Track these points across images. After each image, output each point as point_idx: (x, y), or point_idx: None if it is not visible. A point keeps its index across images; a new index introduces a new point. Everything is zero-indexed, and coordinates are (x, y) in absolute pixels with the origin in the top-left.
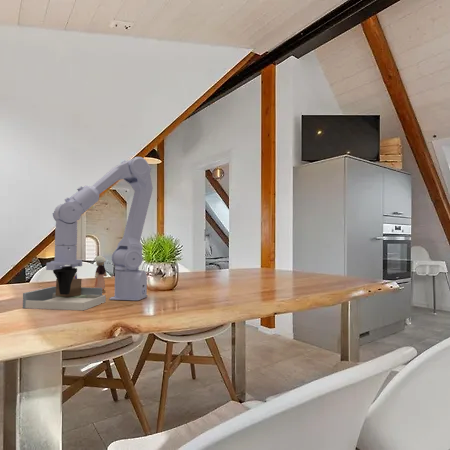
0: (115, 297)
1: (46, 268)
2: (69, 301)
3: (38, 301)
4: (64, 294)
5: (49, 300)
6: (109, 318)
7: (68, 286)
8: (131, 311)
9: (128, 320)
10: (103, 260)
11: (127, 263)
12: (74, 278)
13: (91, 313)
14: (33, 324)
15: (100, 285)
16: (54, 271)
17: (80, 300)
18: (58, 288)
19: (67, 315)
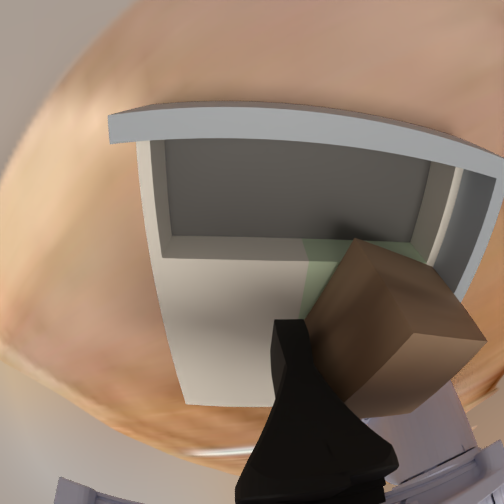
0: None
1: (58, 487)
2: (192, 367)
3: (146, 231)
4: (316, 316)
5: (187, 281)
6: (134, 424)
7: (275, 397)
8: (215, 440)
9: (137, 439)
10: None
11: None
12: (444, 381)
13: (160, 400)
14: (9, 327)
15: None
16: (240, 477)
17: (228, 388)
18: (360, 296)
19: (108, 365)
